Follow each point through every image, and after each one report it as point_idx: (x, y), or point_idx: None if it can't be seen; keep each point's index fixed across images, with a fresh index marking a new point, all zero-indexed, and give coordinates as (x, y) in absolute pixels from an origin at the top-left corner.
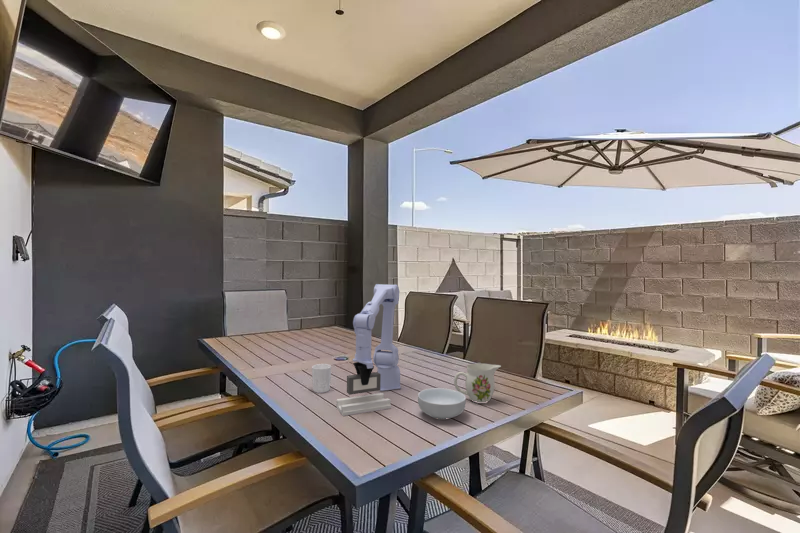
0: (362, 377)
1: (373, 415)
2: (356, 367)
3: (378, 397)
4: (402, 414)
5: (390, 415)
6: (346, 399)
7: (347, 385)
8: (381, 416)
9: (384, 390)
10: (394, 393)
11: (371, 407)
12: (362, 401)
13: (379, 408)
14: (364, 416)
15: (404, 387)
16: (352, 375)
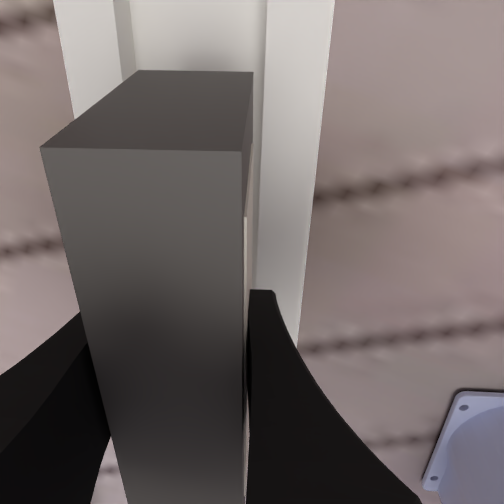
0: (33, 362)
1: (32, 197)
2: (248, 465)
3: None
4: (17, 350)
5: (13, 291)
6: (270, 56)
7: (210, 96)
8: (4, 238)
9: (449, 412)
10: (370, 433)
11: None
12: (258, 209)
13: None
14: (23, 128)
15: (429, 499)
16: (212, 262)
